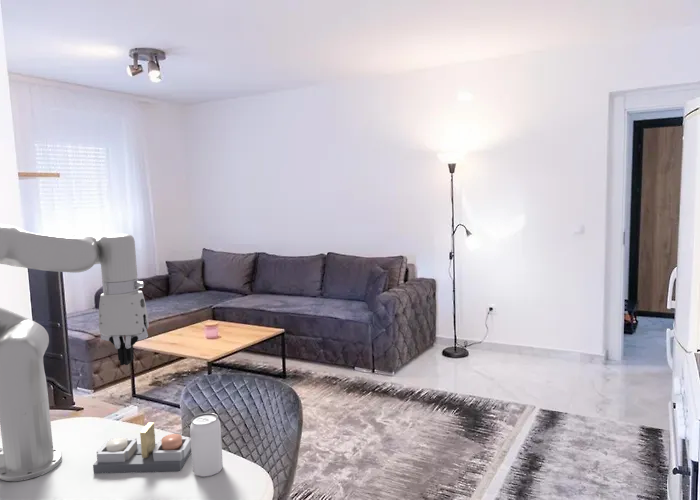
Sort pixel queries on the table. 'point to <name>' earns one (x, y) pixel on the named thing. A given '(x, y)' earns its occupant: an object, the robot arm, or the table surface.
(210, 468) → the can
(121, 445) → the cream button
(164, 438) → the terracotta button
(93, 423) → the table surface
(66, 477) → the table surface
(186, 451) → the panel
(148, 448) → the thick plank
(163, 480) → the table surface
